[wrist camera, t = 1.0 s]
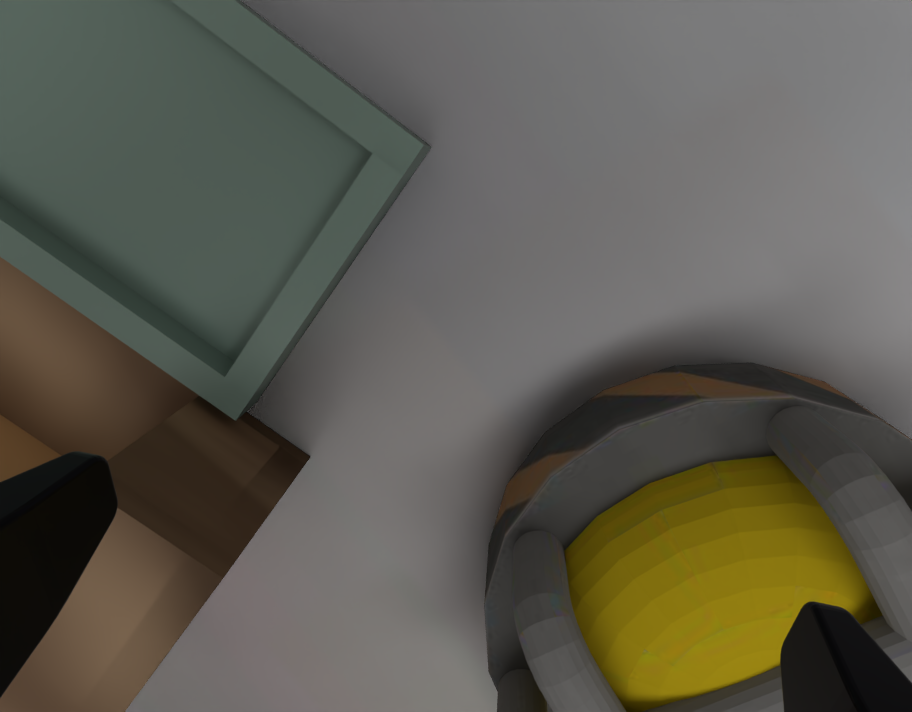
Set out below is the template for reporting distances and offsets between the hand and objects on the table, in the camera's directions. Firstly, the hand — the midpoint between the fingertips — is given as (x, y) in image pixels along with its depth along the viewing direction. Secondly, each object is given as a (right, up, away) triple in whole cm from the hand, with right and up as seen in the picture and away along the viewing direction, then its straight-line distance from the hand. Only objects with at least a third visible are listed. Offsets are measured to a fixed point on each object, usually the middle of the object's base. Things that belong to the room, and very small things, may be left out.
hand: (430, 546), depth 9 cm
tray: (-10, +10, +12) cm, 18 cm away
